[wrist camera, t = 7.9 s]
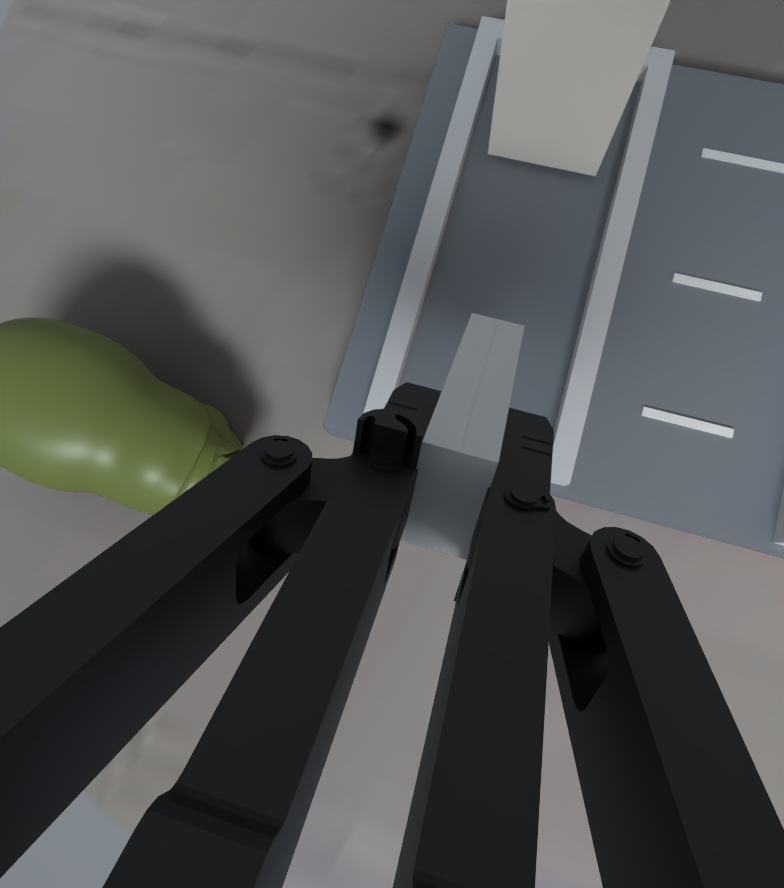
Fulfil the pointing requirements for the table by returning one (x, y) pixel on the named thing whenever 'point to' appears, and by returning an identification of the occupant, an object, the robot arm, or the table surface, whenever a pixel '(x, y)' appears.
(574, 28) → the fader knob
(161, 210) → the table surface
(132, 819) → the table surface
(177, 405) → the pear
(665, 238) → the tray
